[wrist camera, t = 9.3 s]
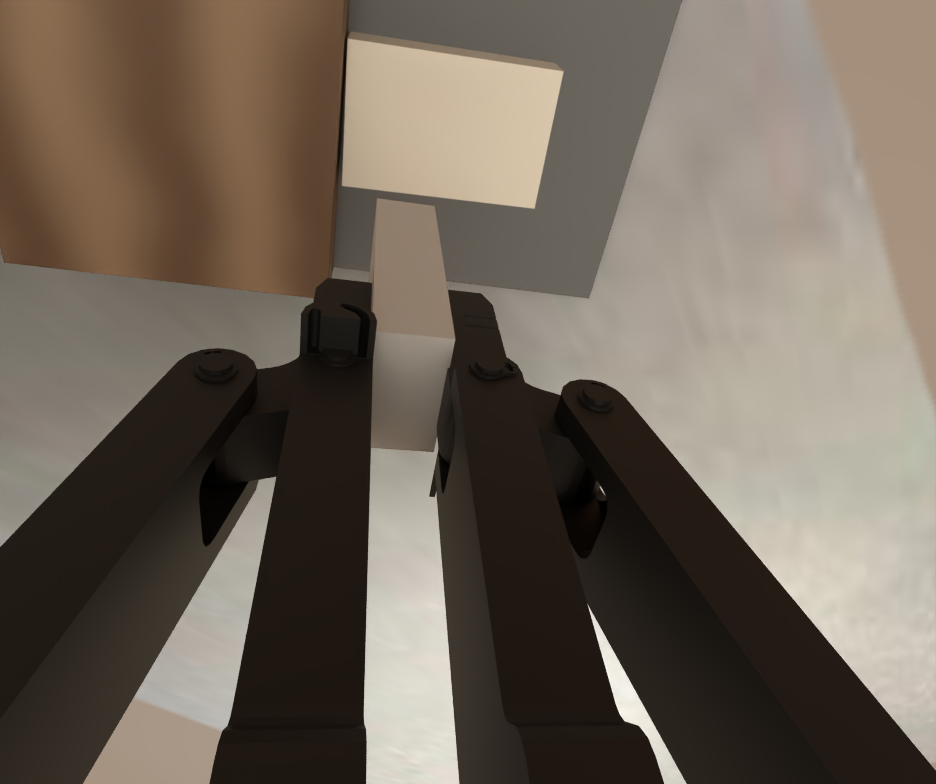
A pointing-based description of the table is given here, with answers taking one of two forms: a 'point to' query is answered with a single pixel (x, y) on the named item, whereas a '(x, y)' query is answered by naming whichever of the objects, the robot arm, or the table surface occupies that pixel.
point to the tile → (446, 120)
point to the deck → (173, 139)
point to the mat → (570, 144)
